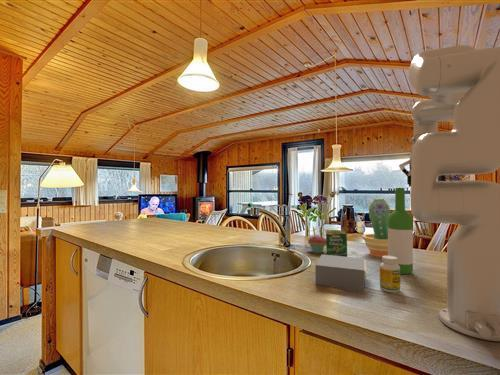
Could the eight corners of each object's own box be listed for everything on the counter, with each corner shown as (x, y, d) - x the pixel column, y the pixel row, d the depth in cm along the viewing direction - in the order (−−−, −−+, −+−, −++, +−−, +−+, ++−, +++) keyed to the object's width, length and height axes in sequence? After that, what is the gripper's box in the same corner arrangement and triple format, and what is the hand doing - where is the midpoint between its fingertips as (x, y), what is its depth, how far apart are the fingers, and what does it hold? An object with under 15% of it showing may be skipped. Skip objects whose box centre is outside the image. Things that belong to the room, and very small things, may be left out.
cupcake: (307, 253, 122) (307, 227, 122) (308, 248, 130) (308, 224, 130) (326, 254, 119) (326, 227, 119) (327, 250, 127) (326, 225, 127)
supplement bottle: (386, 284, 82) (385, 253, 82) (404, 290, 77) (403, 257, 77) (376, 288, 79) (376, 256, 79) (394, 294, 75) (394, 260, 74)
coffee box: (325, 262, 107) (325, 229, 107) (326, 260, 109) (326, 228, 109) (346, 265, 103) (346, 231, 103) (347, 263, 106) (347, 230, 105)
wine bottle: (413, 276, 89) (412, 187, 89) (387, 272, 93) (386, 187, 93) (412, 270, 96) (412, 187, 96) (388, 267, 100) (388, 187, 100)
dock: (365, 291, 77) (365, 270, 77) (315, 284, 83) (315, 264, 83) (365, 276, 90) (365, 258, 90) (321, 271, 96) (321, 254, 96)
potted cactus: (354, 253, 121) (354, 198, 121) (374, 248, 129) (374, 197, 129) (388, 261, 108) (387, 200, 108) (407, 255, 117) (407, 198, 116)
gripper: (401, 140, 97) (401, 186, 97) (457, 137, 92) (458, 186, 92) (397, 143, 104) (397, 186, 104) (449, 140, 99) (449, 186, 99)
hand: (425, 186), depth 98 cm, fingers open, 9 cm apart
